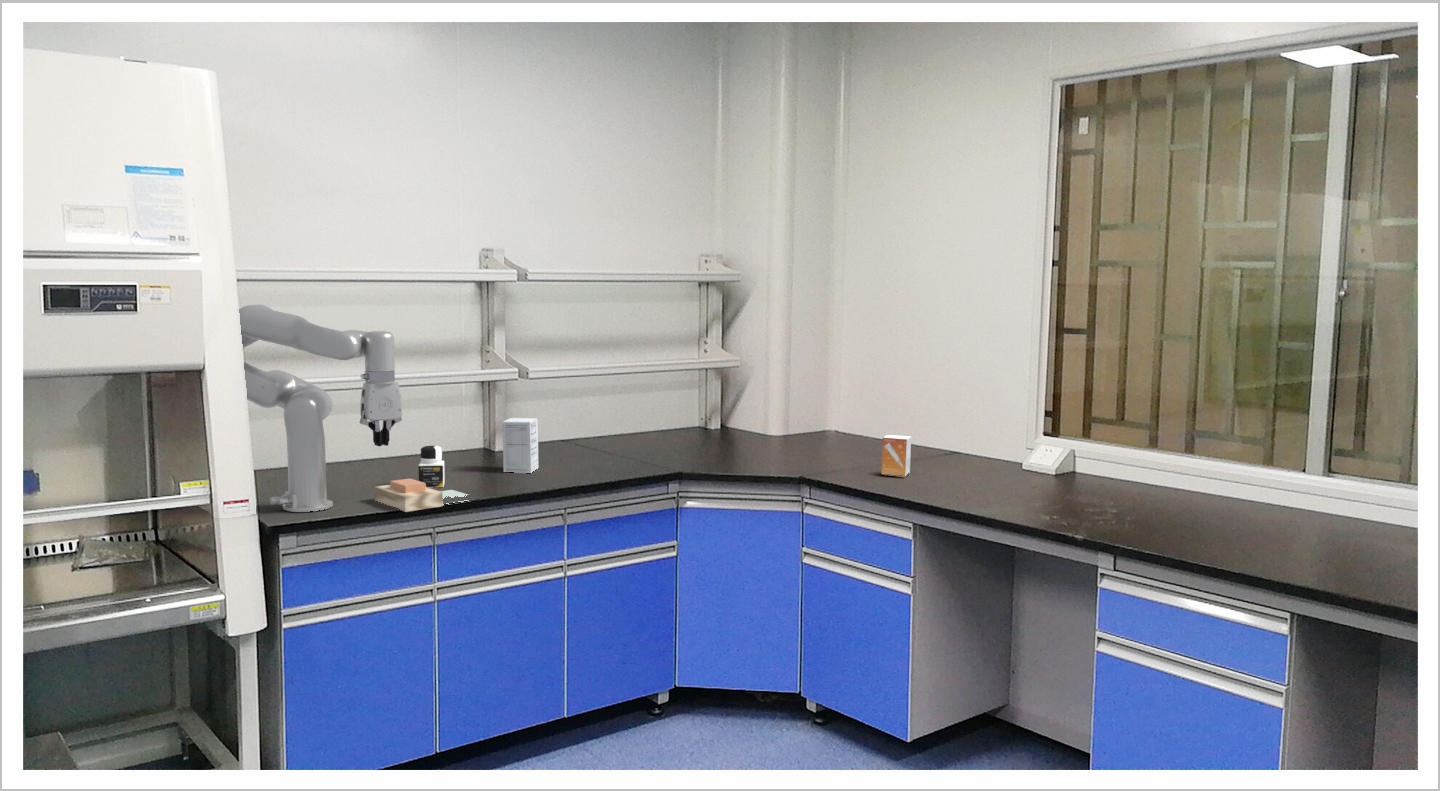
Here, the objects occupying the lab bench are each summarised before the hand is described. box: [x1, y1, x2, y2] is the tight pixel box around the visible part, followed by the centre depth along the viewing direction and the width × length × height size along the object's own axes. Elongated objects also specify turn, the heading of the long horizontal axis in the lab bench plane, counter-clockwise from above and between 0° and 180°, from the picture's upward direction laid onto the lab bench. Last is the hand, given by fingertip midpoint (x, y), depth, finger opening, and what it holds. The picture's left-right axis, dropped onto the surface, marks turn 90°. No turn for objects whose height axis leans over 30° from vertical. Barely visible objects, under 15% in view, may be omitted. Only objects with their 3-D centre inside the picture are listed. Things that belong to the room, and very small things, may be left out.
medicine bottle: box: [417, 445, 446, 489], centre depth 319 cm, size 7×7×12 cm
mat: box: [440, 489, 470, 506], centre depth 303 cm, size 12×16×1 cm
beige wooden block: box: [373, 484, 444, 513], centre depth 295 cm, size 11×18×4 cm, turn 44°
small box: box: [880, 434, 912, 476], centre depth 347 cm, size 8×6×13 cm
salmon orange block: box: [389, 478, 426, 493], centre depth 294 cm, size 9×6×2 cm, turn 44°
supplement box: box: [502, 417, 539, 474], centre depth 345 cm, size 10×9×17 cm
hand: (381, 445), depth 288 cm, fingers closed
